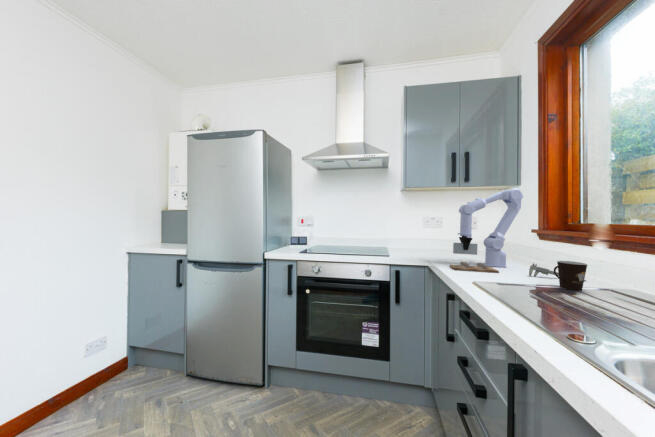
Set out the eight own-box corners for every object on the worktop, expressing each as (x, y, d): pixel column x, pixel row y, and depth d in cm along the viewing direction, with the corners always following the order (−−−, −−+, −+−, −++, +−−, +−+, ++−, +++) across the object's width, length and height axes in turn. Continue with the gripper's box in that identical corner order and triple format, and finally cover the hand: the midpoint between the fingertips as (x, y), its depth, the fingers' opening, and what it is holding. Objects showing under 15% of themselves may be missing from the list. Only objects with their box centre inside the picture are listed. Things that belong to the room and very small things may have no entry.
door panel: (475, 254, 151) (476, 243, 151) (477, 254, 149) (477, 244, 149) (453, 253, 154) (453, 242, 154) (453, 253, 152) (454, 242, 152)
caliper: (529, 276, 125) (530, 263, 125) (528, 276, 126) (529, 262, 126) (586, 282, 117) (587, 267, 117) (585, 281, 118) (585, 267, 118)
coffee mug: (577, 286, 107) (578, 261, 107) (592, 292, 98) (593, 265, 98) (542, 283, 110) (543, 259, 110) (554, 289, 102) (555, 263, 101)
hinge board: (490, 268, 140) (491, 262, 140) (498, 272, 130) (499, 266, 130) (449, 266, 144) (449, 260, 144) (454, 270, 134) (454, 263, 134)
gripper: (455, 225, 159) (454, 247, 159) (461, 225, 145) (461, 250, 145) (467, 225, 158) (467, 248, 158) (476, 226, 143) (475, 251, 144)
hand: (465, 249), depth 151 cm, fingers closed on door panel, 2 cm apart
